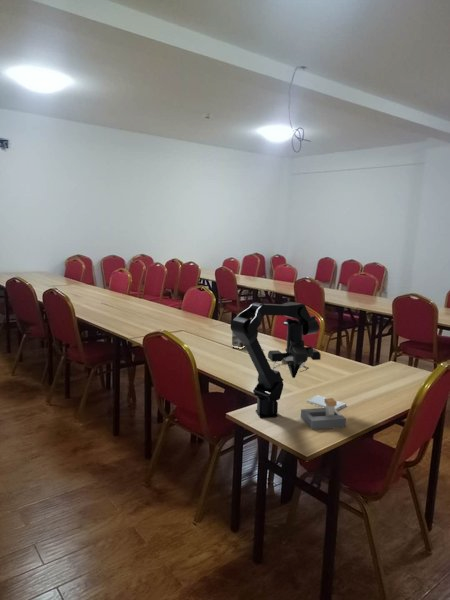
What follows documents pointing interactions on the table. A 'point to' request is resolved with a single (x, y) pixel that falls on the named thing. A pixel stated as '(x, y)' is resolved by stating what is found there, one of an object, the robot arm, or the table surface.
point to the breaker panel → (322, 419)
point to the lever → (330, 406)
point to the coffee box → (236, 341)
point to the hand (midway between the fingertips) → (293, 377)
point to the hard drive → (321, 402)
